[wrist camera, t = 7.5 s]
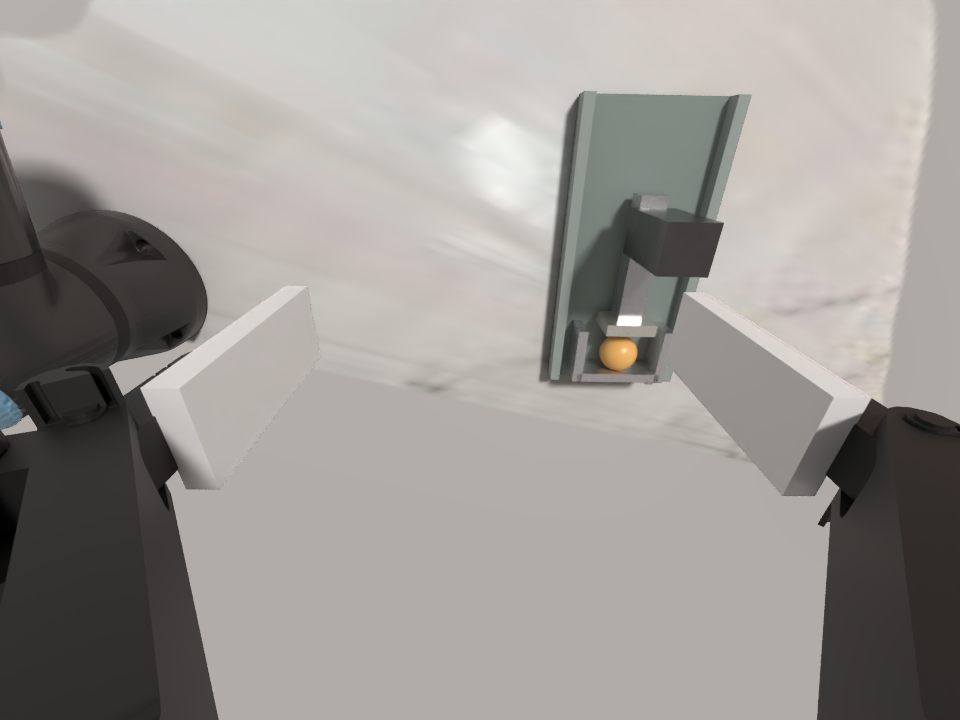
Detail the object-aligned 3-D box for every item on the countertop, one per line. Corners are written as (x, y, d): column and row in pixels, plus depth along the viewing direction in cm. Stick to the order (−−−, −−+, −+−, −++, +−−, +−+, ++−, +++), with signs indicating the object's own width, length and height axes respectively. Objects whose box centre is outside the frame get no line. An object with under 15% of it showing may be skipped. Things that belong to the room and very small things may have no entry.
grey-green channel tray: (547, 371, 48) (550, 379, 46) (579, 94, 35) (584, 91, 33) (662, 373, 48) (669, 381, 46) (738, 97, 35) (751, 94, 33)
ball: (608, 342, 41) (597, 328, 45) (602, 376, 43) (592, 360, 46) (646, 343, 41) (633, 329, 45) (638, 377, 43) (626, 360, 46)
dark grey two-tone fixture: (595, 321, 44) (628, 369, 34) (617, 192, 37) (664, 206, 28) (641, 321, 44) (686, 370, 34) (670, 193, 38) (735, 208, 28)
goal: (565, 364, 47) (572, 381, 44) (571, 317, 45) (579, 332, 41) (648, 365, 47) (661, 382, 44) (659, 319, 45) (675, 333, 41)
